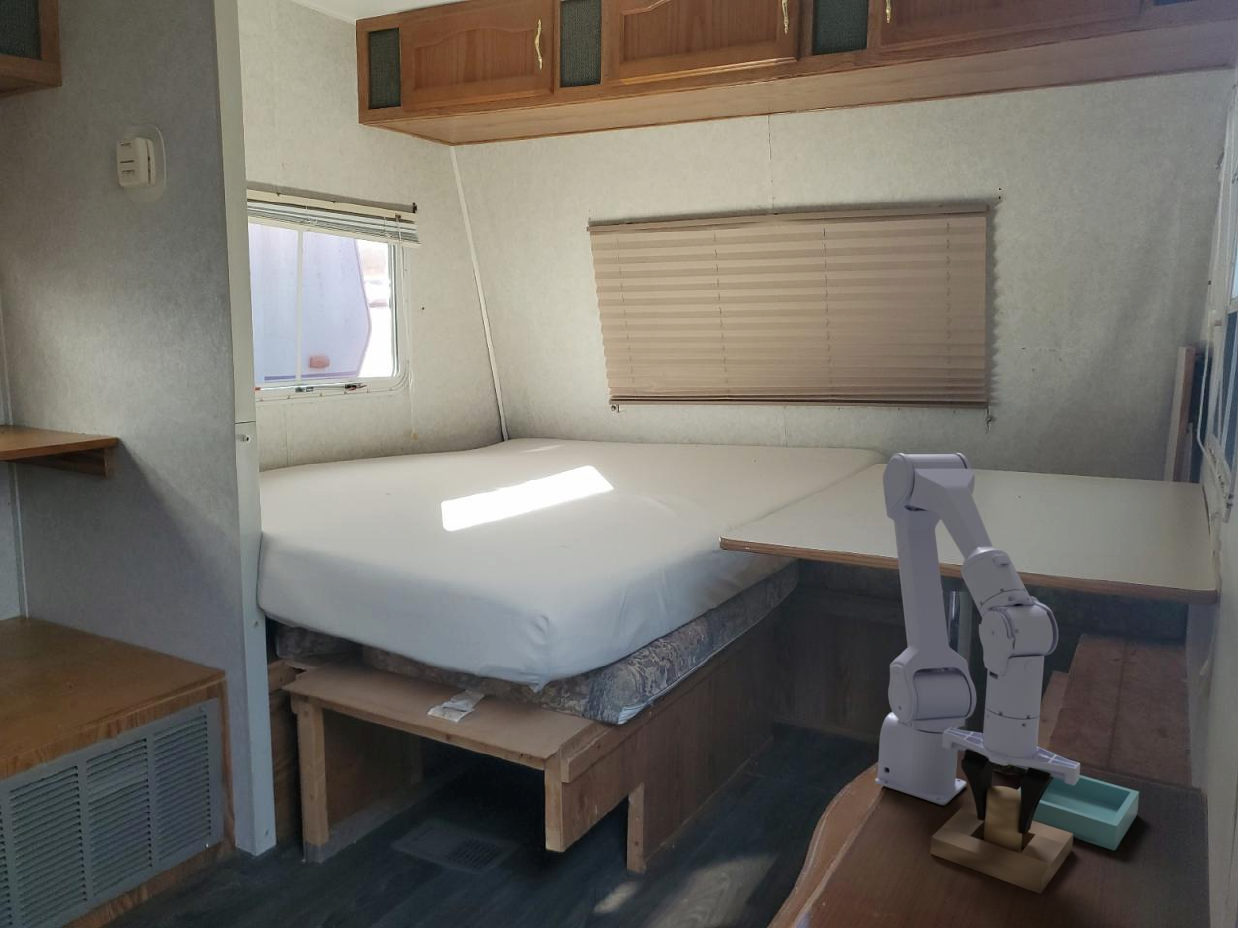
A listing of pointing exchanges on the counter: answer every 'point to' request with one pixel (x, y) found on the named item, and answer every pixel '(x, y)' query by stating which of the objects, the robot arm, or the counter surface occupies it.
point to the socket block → (1003, 850)
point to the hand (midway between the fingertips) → (1003, 823)
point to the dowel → (1003, 818)
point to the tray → (1089, 810)
